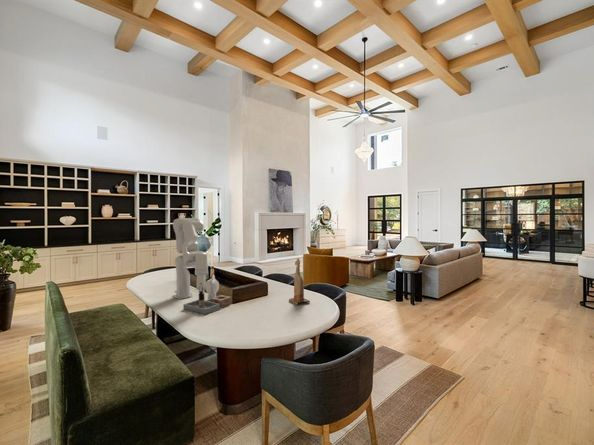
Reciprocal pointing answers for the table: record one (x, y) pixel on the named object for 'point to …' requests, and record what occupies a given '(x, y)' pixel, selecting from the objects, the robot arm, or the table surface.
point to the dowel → (202, 302)
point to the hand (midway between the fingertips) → (201, 298)
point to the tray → (195, 308)
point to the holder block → (222, 300)
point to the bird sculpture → (298, 286)
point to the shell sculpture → (211, 287)
